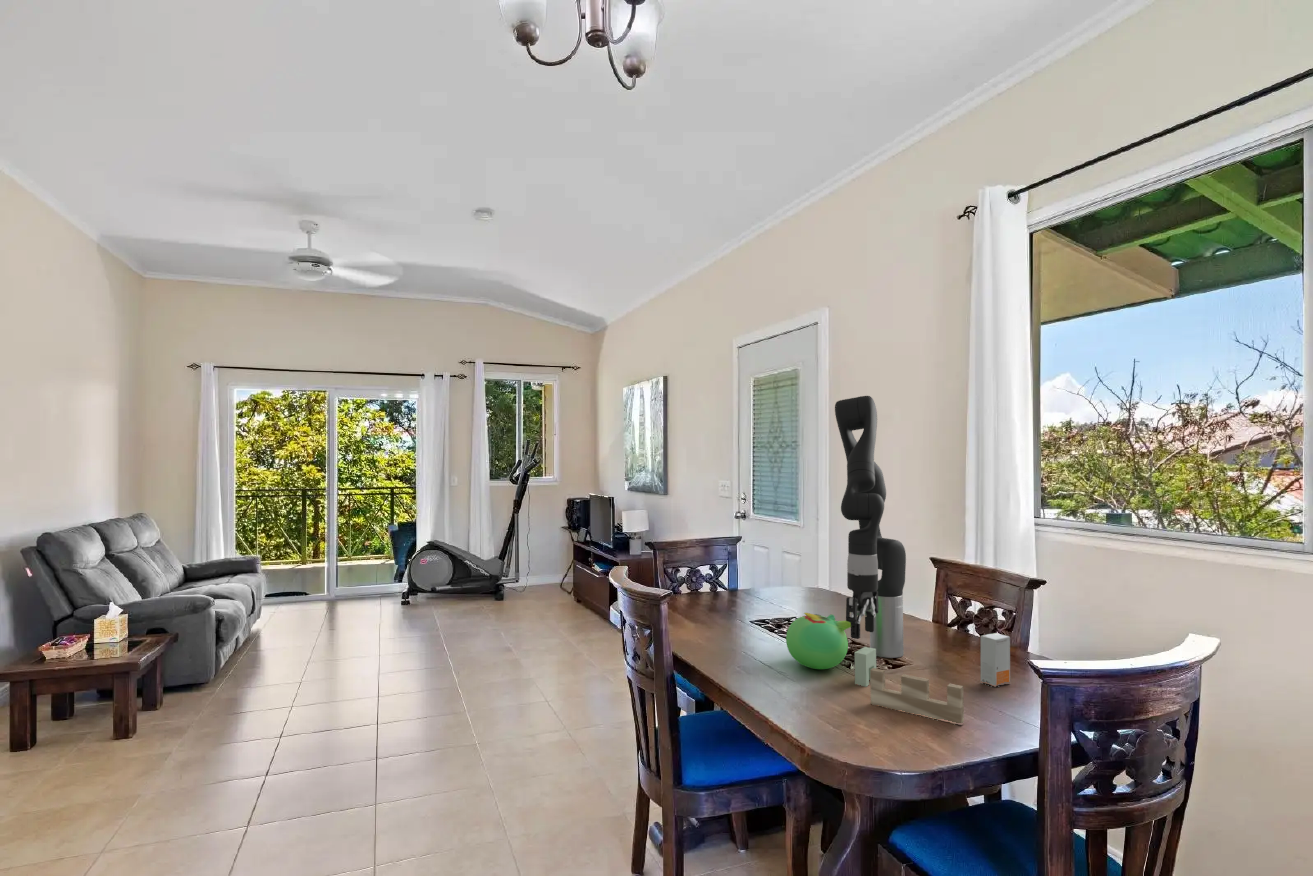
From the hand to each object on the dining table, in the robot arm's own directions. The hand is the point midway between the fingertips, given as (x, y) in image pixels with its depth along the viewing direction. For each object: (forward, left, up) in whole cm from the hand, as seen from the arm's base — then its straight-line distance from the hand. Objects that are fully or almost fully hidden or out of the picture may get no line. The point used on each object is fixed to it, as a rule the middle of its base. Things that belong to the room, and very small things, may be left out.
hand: (862, 634), depth 175 cm
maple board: (+13, +18, -12) cm, 25 cm away
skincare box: (-19, +27, -12) cm, 35 cm away
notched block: (0, +1, -12) cm, 12 cm away
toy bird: (-4, -14, -12) cm, 19 cm away
